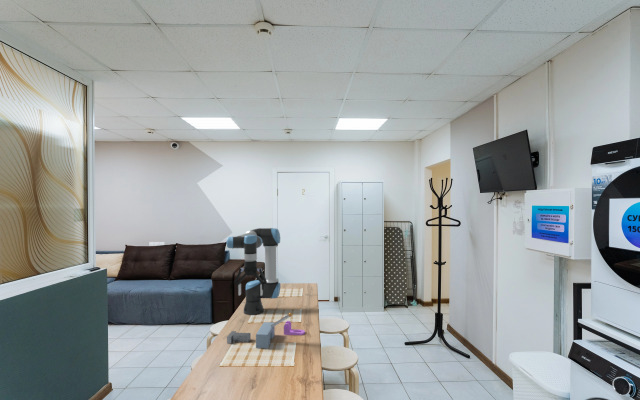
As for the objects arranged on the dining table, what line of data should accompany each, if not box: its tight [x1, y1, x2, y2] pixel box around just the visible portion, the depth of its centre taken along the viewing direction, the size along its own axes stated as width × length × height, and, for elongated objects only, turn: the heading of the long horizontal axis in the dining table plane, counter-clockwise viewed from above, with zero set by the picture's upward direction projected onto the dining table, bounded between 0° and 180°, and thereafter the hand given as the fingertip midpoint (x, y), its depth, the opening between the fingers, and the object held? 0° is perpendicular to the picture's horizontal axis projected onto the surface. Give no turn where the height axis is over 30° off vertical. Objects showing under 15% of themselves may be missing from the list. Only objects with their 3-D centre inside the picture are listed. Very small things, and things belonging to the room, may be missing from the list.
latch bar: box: [271, 312, 293, 328], centre depth 182 cm, size 2×15×2 cm
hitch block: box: [255, 321, 276, 349], centre depth 182 cm, size 18×7×8 cm, turn 176°
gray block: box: [226, 330, 251, 345], centre depth 183 cm, size 8×12×4 cm
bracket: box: [283, 320, 306, 336], centre depth 193 cm, size 13×6×7 cm, turn 84°
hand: (250, 295), depth 184 cm, fingers open, 13 cm apart
